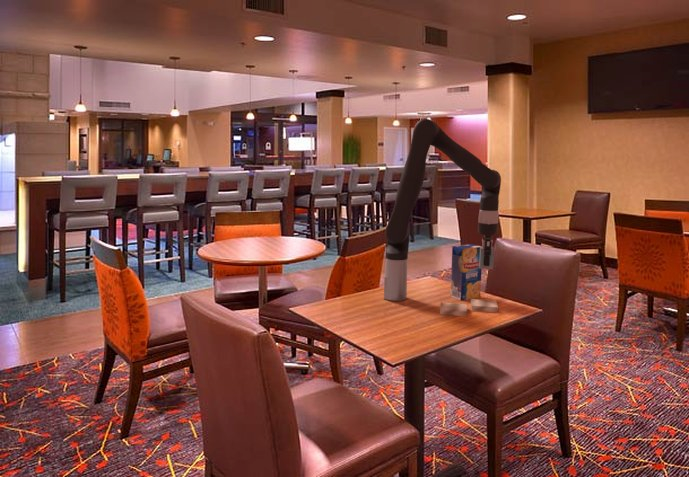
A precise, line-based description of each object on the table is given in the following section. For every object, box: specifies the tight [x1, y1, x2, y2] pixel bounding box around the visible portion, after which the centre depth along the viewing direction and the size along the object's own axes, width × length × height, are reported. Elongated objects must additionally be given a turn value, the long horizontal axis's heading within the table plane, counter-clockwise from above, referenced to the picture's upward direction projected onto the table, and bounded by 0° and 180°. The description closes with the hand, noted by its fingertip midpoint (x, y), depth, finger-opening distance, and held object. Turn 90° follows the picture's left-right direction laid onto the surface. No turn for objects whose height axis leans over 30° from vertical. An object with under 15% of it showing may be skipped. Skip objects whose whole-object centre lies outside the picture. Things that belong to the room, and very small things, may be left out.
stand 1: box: [439, 301, 468, 317], centre depth 214 cm, size 10×10×2 cm
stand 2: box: [470, 298, 499, 313], centre depth 219 cm, size 10×10×2 cm
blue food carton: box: [449, 243, 483, 301], centre depth 233 cm, size 7×11×22 cm, turn 121°
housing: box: [479, 245, 495, 270], centre depth 216 cm, size 5×5×8 cm
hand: (486, 264), depth 216 cm, fingers closed on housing, 5 cm apart
